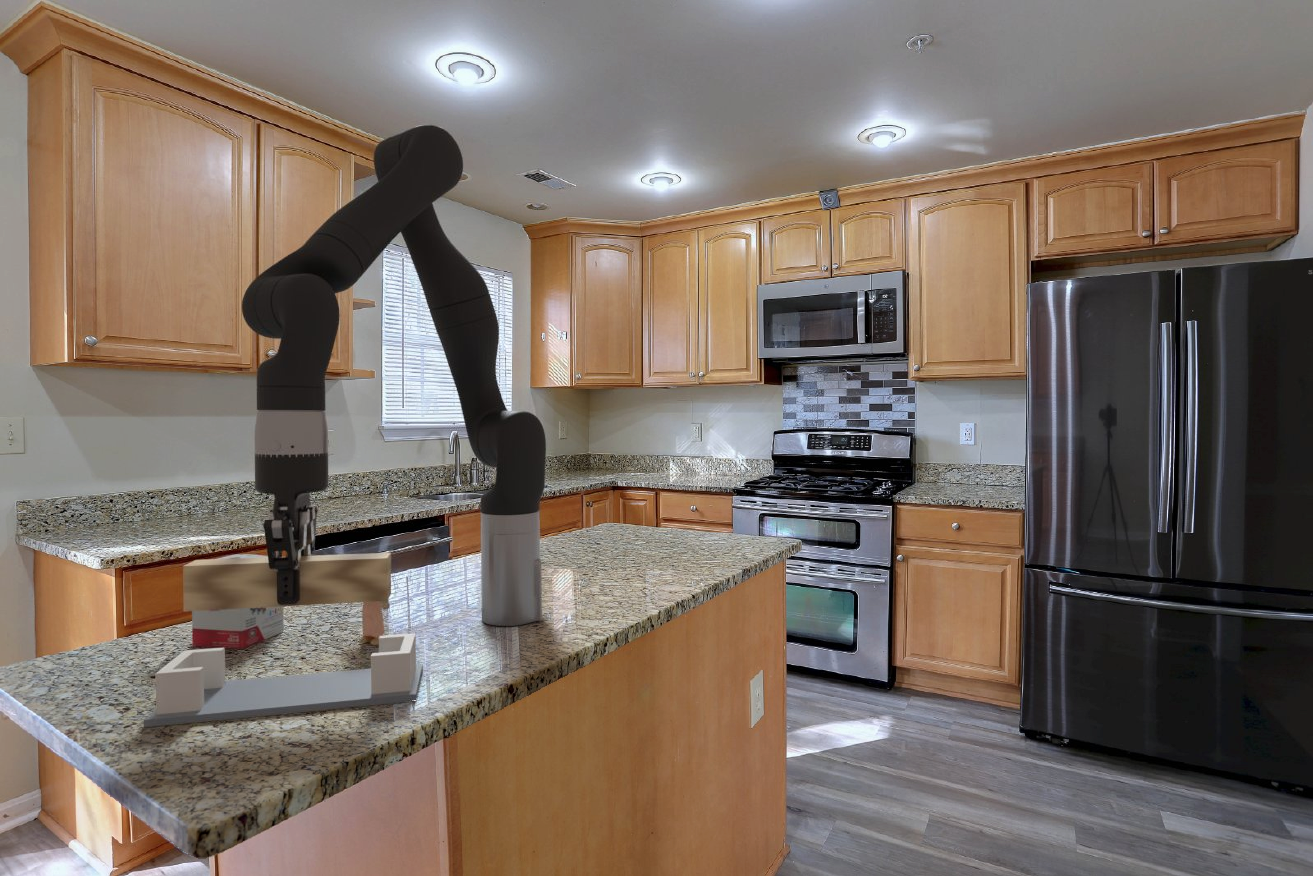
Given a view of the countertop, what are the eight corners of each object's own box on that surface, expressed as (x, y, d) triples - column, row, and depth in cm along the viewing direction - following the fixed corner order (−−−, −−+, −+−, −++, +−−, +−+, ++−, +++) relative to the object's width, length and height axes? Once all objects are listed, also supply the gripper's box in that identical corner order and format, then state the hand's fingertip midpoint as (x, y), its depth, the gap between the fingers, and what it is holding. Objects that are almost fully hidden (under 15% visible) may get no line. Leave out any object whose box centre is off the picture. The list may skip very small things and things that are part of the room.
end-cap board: (422, 670, 90) (422, 630, 90) (415, 701, 80) (415, 655, 80) (182, 691, 83) (181, 647, 83) (143, 727, 73) (142, 678, 73)
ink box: (242, 650, 98) (240, 565, 97) (190, 646, 100) (188, 563, 99) (286, 631, 106) (285, 553, 106) (237, 628, 108) (236, 551, 108)
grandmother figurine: (403, 639, 102) (402, 552, 102) (385, 647, 99) (383, 557, 98) (360, 634, 105) (359, 549, 104) (341, 641, 101) (339, 554, 101)
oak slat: (391, 593, 85) (390, 552, 85) (387, 600, 82) (387, 558, 82) (196, 603, 80) (195, 560, 80) (183, 611, 77) (183, 566, 77)
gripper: (313, 452, 75) (314, 613, 75) (339, 447, 89) (340, 583, 89) (234, 453, 73) (236, 618, 73) (273, 448, 87) (275, 587, 87)
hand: (293, 598), depth 81 cm, fingers closed on oak slat, 3 cm apart
